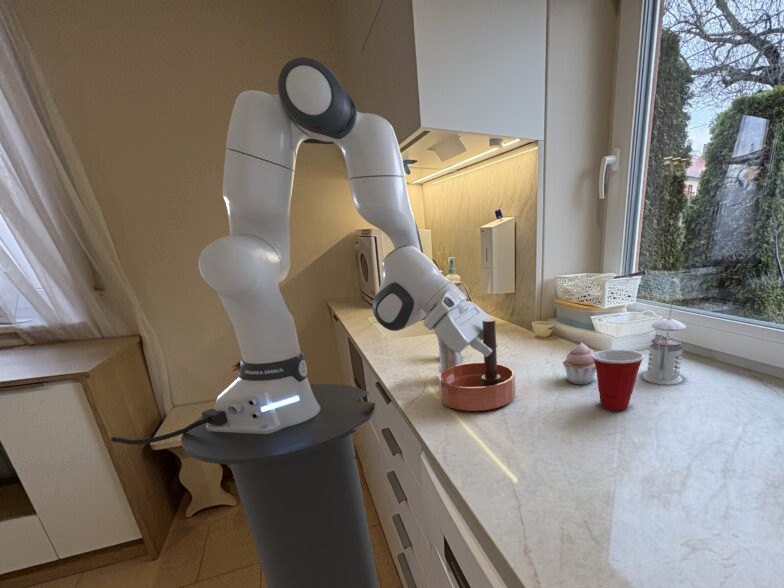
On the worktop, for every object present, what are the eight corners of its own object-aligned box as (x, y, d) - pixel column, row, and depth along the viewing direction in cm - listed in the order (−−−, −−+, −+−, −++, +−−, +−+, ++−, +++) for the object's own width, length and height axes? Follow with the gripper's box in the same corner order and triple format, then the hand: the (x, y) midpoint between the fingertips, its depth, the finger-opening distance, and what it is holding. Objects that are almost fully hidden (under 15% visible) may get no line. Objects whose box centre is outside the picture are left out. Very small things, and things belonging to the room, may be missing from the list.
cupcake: (586, 372, 111) (588, 336, 107) (605, 383, 103) (608, 345, 99) (555, 377, 108) (556, 340, 104) (573, 389, 100) (574, 349, 96)
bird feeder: (684, 374, 108) (698, 277, 99) (679, 389, 98) (693, 283, 89) (646, 369, 112) (656, 275, 103) (637, 383, 103) (647, 281, 94)
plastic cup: (621, 393, 97) (625, 344, 93) (649, 411, 87) (655, 357, 83) (580, 399, 94) (582, 349, 89) (604, 419, 84) (608, 363, 80)
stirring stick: (481, 392, 92) (478, 322, 86) (482, 385, 96) (478, 318, 90) (501, 392, 92) (499, 322, 87) (500, 385, 96) (498, 317, 91)
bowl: (437, 415, 87) (434, 389, 85) (444, 386, 103) (442, 363, 101) (517, 412, 88) (517, 386, 86) (512, 383, 104) (512, 361, 102)
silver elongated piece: (468, 376, 109) (464, 301, 102) (457, 385, 103) (452, 306, 96) (446, 374, 111) (440, 300, 104) (435, 383, 105) (427, 305, 98)
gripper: (455, 307, 100) (495, 347, 102) (419, 326, 82) (469, 375, 83) (471, 289, 98) (512, 330, 99) (438, 304, 79) (489, 355, 80)
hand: (492, 351), depth 91 cm, fingers closed on stirring stick, 3 cm apart
